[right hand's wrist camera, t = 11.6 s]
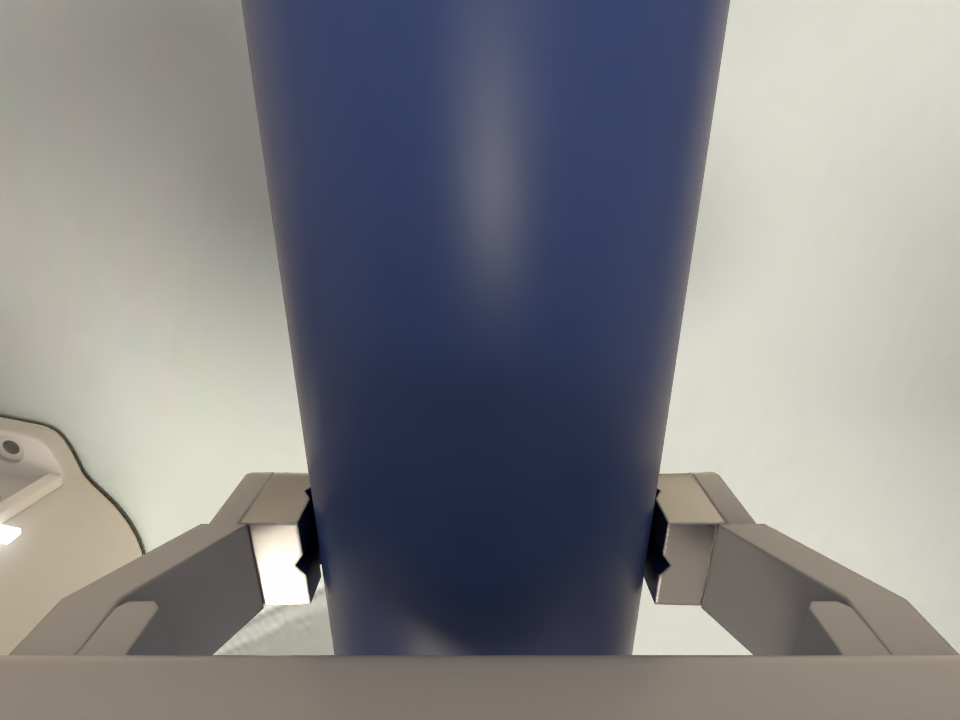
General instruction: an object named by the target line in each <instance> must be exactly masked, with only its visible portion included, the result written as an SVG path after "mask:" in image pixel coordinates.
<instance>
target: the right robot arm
mask: <svg viewBox="0 0 960 720" xmlns="http://www.w3.org/2000/svg"><path fill="white" fill-rule="evenodd" d="M320 564H322V563H321V556H320V549H319V542H318V535H317V528H316V521H315V514H314V507H313V500H312V493H311V486H310V479H309V473H274V472H254V473H249V474H246V475H245V477H244V478H243V479H242V481H241V482H240V483H239V485H238V486H237V487H236V489H235V490H234V491H233V493H232V494H231V495H230V497H229V498H228V499H227V501H226V502H225V503H224V505H223V506H222V507H221V509H220V510H219V511H218V513H217V514H216V515H215V517H214V518H213V519H212V521H211V522H210V523H209V524H200V525H198V526H196V527H195V528H193V529H191V530H189V531H187V532H185V533H183V534H182V535H180V536H178V537H176V538H174V539H172V540H170V541H169V542H167V543H165V544H163V545H161V546H159V547H157V548H156V549H154V550H152V551H150V552H148V553H146V554H144V555H142V552H141V549H140V546H139V543H138V541H137V539H136V537H135V535H134V533H133V531H132V529H131V528H130V526H129V525H128V523H127V521H126V520H125V519H124V517H123V516H122V515H121V513H120V512H119V511H118V510H117V509H116V508H115V506H114V505H113V504H112V503H111V502H110V501H109V500H108V499H107V498H106V497H105V496H104V495H102V494H101V493H100V492H99V491H98V490H97V489H96V488H95V487H94V486H93V485H92V484H91V483H90V482H89V481H88V480H87V478H86V477H85V476H84V475H83V474H82V471H81V469H80V467H79V465H78V463H77V461H76V459H75V457H74V455H73V454H72V452H71V450H70V448H69V447H68V445H67V444H66V442H65V441H64V439H63V438H62V437H61V436H60V435H59V434H58V433H57V432H55V431H54V430H52V429H51V428H48V427H46V426H43V425H39V424H34V423H29V422H23V421H18V420H13V419H8V418H3V417H0V720H960V655H959V654H958V653H957V652H956V651H955V650H954V649H953V648H952V646H951V645H950V644H949V643H948V642H947V641H946V640H945V639H944V638H943V637H942V636H941V635H940V634H939V633H938V632H937V631H936V630H935V629H934V628H933V627H932V626H931V625H930V624H929V623H928V622H927V621H926V620H925V618H924V617H923V616H922V615H921V614H920V613H919V612H918V611H917V610H916V609H915V608H914V607H913V606H912V605H911V604H910V603H909V602H908V601H907V600H906V599H904V598H902V597H900V596H898V595H897V594H895V593H893V592H891V591H889V590H887V589H885V588H883V587H882V586H880V585H878V584H876V583H874V582H872V581H870V580H868V579H867V578H865V577H863V576H861V575H859V574H857V573H855V572H854V571H852V570H850V569H848V568H846V567H844V566H842V565H840V564H839V563H837V562H835V561H833V560H831V559H829V558H827V557H825V556H824V555H822V554H820V553H818V552H816V551H814V550H812V549H810V548H809V547H807V546H805V545H803V544H801V543H799V542H797V541H795V540H794V539H792V538H790V537H788V536H786V535H784V534H782V533H780V532H779V531H777V530H775V529H773V528H771V527H769V526H767V525H766V524H756V523H755V521H754V520H753V519H752V517H751V516H750V515H749V513H748V512H747V511H746V510H745V508H744V507H743V506H742V504H741V503H740V502H739V500H738V499H737V498H736V496H735V495H734V494H733V493H732V491H731V490H730V489H729V487H728V486H727V485H726V483H725V482H724V481H723V480H722V478H721V477H720V476H719V475H718V474H716V473H714V472H701V473H680V474H659V477H658V484H657V491H656V497H655V504H654V511H653V517H652V524H651V531H650V537H649V544H648V551H647V557H646V564H645V572H644V578H645V581H646V583H647V585H648V588H649V590H650V593H651V595H652V598H653V600H654V603H655V604H666V605H701V606H702V607H701V608H702V609H703V610H705V611H706V612H707V613H708V614H709V615H710V616H711V617H712V618H713V619H714V620H716V621H717V622H718V623H719V624H720V625H721V626H722V627H723V628H724V629H726V630H727V631H728V632H729V633H730V634H731V635H732V636H733V637H734V638H735V639H737V640H738V641H739V642H740V643H741V644H742V645H743V646H744V647H745V648H746V649H748V650H749V651H750V652H751V653H752V654H753V655H213V654H214V653H215V652H216V651H217V650H218V649H219V648H221V647H222V646H223V645H224V644H225V643H226V642H227V641H228V640H229V639H230V638H231V637H233V636H234V635H235V634H236V633H237V632H238V631H239V630H240V629H241V628H242V627H244V626H245V625H246V624H247V623H248V622H249V621H250V620H251V619H252V618H253V617H254V616H256V615H257V614H258V613H259V612H260V611H261V610H262V609H263V608H264V607H263V606H264V605H298V604H311V601H312V599H313V596H314V593H315V591H316V588H317V586H318V583H319V580H320V578H321V572H320Z"/></svg>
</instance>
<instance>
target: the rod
mask: <svg viewBox="0 0 960 720" xmlns="http://www.w3.org/2000/svg"><path fill="white" fill-rule="evenodd" d="M241 1H242V8H243V16H244V23H245V30H246V37H247V44H248V51H249V58H250V65H251V72H252V79H253V86H254V93H255V100H256V107H257V114H258V121H259V128H260V135H261V142H262V149H263V156H264V163H265V170H266V177H267V184H268V191H269V198H270V205H271V212H272V219H273V226H274V233H275V240H276V247H277V254H278V261H279V268H280V275H281V282H282V289H283V296H284V303H285V310H286V317H287V324H288V331H289V338H290V345H291V352H292V359H293V366H294V373H295V380H296V387H297V394H298V401H299V408H300V415H301V422H302V429H303V436H304V443H305V451H306V458H307V465H308V472H309V479H310V486H311V493H312V500H313V507H314V514H315V521H316V528H317V535H318V542H319V549H320V556H321V563H322V570H323V577H324V584H325V591H326V598H327V605H328V612H329V619H330V626H331V633H332V640H333V647H334V654H335V655H632V651H633V644H634V637H635V631H636V624H637V617H638V611H639V604H640V597H641V591H642V584H643V577H644V571H645V564H646V557H647V551H648V544H649V537H650V531H651V524H652V517H653V511H654V504H655V497H656V491H657V484H658V477H659V471H660V464H661V457H662V451H663V444H664V437H665V431H666V424H667V417H668V411H669V404H670V397H671V391H672V384H673V377H674V371H675V364H676V357H677V351H678V344H679V337H680V331H681V324H682V317H683V311H684V304H685V297H686V291H687V284H688V277H689V271H690V264H691V257H692V251H693V244H694V237H695V231H696V224H697V217H698V211H699V204H700V197H701V190H702V184H703V177H704V170H705V164H706V157H707V150H708V144H709V137H710V130H711V124H712V117H713V110H714V104H715V97H716V90H717V84H718V77H719V70H720V64H721V57H722V50H723V44H724V37H725V30H726V24H727V17H728V10H729V4H730V0H241Z"/></svg>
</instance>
